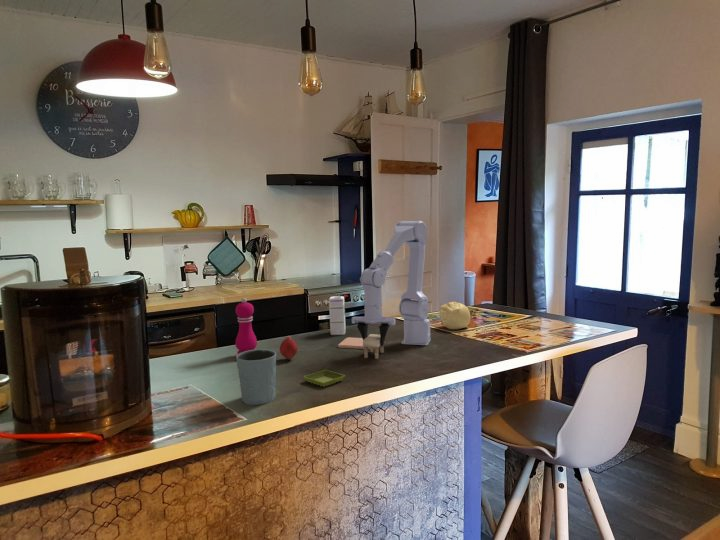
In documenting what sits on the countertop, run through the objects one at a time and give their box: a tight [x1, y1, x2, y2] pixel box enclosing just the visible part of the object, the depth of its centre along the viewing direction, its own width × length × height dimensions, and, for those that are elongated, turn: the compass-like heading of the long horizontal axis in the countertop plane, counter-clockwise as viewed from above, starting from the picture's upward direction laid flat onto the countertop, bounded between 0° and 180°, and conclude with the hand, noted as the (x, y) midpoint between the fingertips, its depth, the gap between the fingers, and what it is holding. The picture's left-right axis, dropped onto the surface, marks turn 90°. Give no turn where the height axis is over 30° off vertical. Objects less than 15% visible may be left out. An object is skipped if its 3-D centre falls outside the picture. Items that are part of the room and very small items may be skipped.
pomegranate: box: [279, 335, 299, 361], centre depth 171 cm, size 6×6×8 cm
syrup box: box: [328, 295, 347, 336], centre depth 205 cm, size 6×6×14 cm
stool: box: [363, 333, 385, 360], centre depth 174 cm, size 9×5×6 cm, turn 164°
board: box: [337, 337, 375, 351], centre depth 188 cm, size 14×11×1 cm
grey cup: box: [235, 348, 277, 406], centre depth 135 cm, size 10×10×12 cm
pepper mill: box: [235, 297, 258, 356], centre depth 175 cm, size 7×7×20 cm
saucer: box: [303, 369, 346, 388], centre depth 148 cm, size 9×9×2 cm
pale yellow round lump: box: [439, 301, 471, 330], centre depth 210 cm, size 11×12×11 cm
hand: (373, 345), depth 174 cm, fingers closed on stool, 5 cm apart
